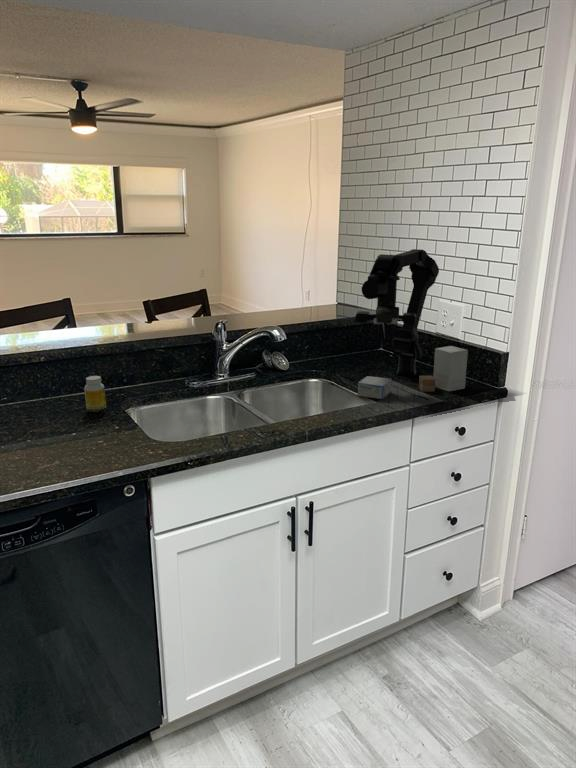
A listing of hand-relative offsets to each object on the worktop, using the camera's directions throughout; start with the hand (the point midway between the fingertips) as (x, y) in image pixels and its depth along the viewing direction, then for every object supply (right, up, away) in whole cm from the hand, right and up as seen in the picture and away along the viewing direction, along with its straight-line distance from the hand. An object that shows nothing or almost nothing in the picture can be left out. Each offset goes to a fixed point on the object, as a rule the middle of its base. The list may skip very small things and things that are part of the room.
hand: (384, 344), depth 181 cm
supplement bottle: (-85, -20, -20) cm, 90 cm away
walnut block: (+13, -14, -3) cm, 20 cm away
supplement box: (+20, -14, -1) cm, 25 cm away
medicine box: (-2, -12, -4) cm, 13 cm away
